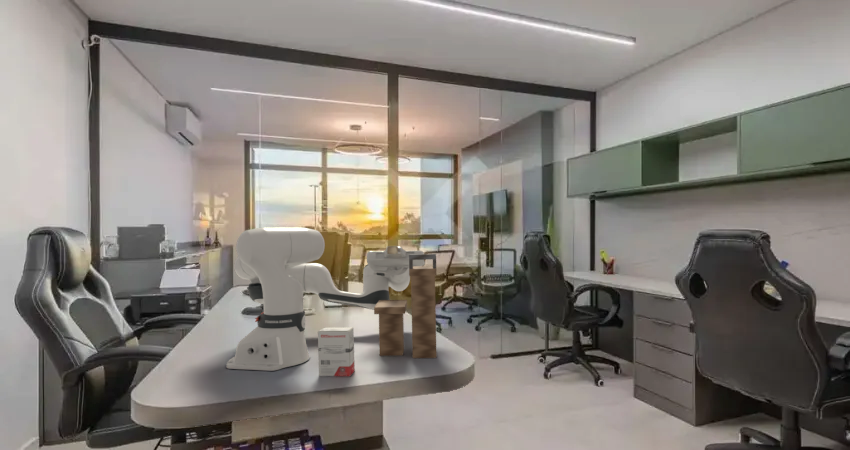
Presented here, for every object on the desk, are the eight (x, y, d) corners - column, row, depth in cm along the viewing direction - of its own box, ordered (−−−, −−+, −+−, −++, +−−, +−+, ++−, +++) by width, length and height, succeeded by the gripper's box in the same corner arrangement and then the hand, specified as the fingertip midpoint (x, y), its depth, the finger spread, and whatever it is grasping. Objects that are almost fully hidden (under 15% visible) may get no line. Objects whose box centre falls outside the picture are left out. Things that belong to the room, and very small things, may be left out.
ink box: (355, 370, 111) (354, 326, 111) (350, 376, 106) (349, 330, 106) (324, 370, 112) (323, 326, 112) (317, 376, 107) (317, 330, 107)
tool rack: (375, 358, 121) (373, 255, 121) (379, 346, 134) (378, 253, 134) (438, 357, 121) (436, 254, 121) (437, 345, 134) (435, 252, 134)
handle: (387, 253, 129) (387, 246, 129) (391, 252, 144) (391, 245, 144) (395, 253, 129) (394, 246, 129) (398, 252, 144) (398, 245, 144)
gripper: (425, 273, 151) (424, 256, 139) (369, 274, 151) (363, 257, 139) (425, 258, 154) (424, 240, 142) (370, 259, 154) (365, 241, 142)
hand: (394, 248), depth 140 cm, fingers closed on handle, 2 cm apart
